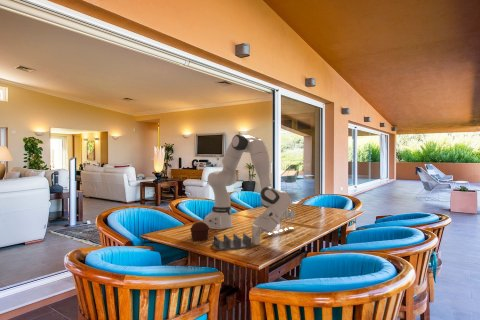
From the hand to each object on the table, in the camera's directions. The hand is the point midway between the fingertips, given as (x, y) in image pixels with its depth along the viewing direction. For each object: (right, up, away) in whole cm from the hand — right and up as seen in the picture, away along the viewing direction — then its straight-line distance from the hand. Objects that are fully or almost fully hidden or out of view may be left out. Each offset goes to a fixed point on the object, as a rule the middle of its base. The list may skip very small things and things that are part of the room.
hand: (254, 234), depth 176 cm
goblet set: (+19, -5, +32) cm, 37 cm away
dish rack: (-13, -5, -4) cm, 14 cm away
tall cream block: (+1, -5, 0) cm, 5 cm away
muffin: (-32, -5, +9) cm, 34 cm away
